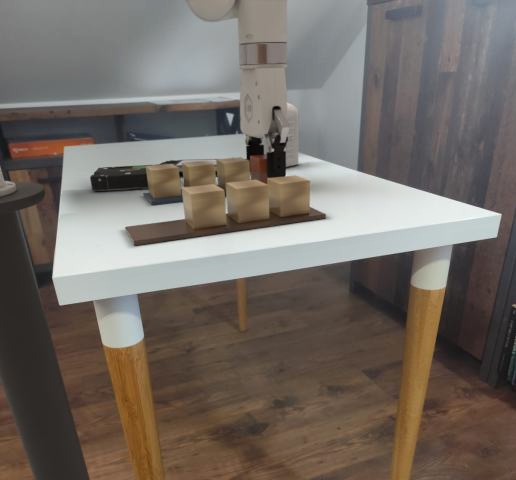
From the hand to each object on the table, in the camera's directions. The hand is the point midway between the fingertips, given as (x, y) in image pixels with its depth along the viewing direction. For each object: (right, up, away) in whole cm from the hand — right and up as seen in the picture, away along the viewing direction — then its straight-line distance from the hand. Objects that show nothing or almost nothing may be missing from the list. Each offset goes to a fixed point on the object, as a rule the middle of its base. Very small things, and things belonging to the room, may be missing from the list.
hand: (265, 172), depth 85 cm
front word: (-5, -14, -19) cm, 24 cm away
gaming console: (-12, +5, +16) cm, 20 cm away
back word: (-8, -4, -2) cm, 9 cm away
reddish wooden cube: (0, -2, +1) cm, 2 cm away
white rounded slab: (+3, +7, +18) cm, 20 cm away
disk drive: (-24, 0, +7) cm, 25 cm away
